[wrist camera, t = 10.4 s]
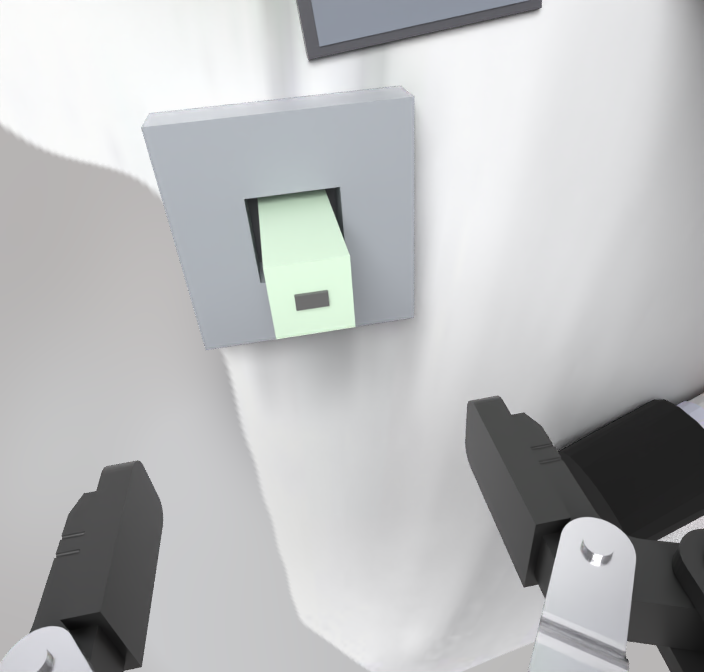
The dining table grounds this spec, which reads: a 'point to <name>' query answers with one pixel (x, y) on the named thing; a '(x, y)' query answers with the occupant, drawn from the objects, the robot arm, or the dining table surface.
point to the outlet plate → (282, 178)
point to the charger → (305, 264)
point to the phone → (390, 20)
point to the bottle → (645, 468)
